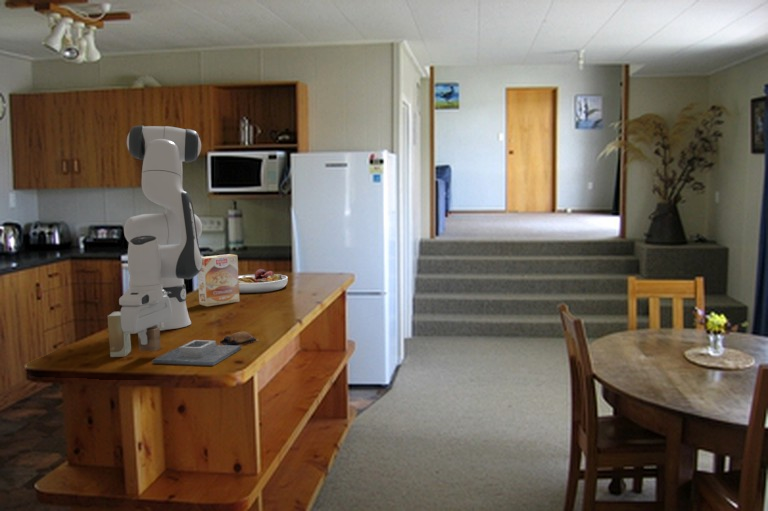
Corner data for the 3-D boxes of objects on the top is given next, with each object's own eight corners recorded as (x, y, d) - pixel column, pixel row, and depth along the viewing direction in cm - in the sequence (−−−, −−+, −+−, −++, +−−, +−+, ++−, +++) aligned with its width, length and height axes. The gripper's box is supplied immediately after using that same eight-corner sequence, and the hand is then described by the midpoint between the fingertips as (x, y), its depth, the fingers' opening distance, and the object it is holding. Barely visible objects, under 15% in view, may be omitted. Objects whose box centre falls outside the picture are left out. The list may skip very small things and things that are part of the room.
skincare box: (116, 352, 198) (113, 311, 196) (131, 351, 198) (128, 310, 197) (109, 357, 191) (106, 315, 190) (125, 357, 192) (122, 314, 190)
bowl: (282, 293, 296) (281, 276, 295) (214, 295, 297) (213, 277, 296) (292, 283, 326) (291, 267, 325) (231, 284, 326) (230, 268, 326)
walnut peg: (139, 350, 190) (137, 329, 189) (145, 347, 193) (143, 327, 192) (155, 351, 189) (153, 330, 188) (160, 348, 191) (159, 327, 191)
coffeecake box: (206, 306, 268) (204, 258, 265) (198, 304, 273) (196, 257, 271) (240, 301, 277) (238, 254, 275) (231, 299, 283) (229, 253, 281)
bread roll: (248, 338, 213) (247, 327, 213) (261, 343, 207) (261, 331, 207) (217, 344, 207) (216, 332, 206) (229, 349, 200) (229, 336, 200)
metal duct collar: (152, 363, 184) (151, 351, 184) (185, 347, 201) (184, 335, 201) (213, 365, 180) (212, 353, 180) (241, 349, 198) (240, 337, 197)
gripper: (156, 287, 199) (159, 333, 201) (114, 300, 180) (118, 350, 181) (175, 288, 198) (178, 333, 200) (136, 300, 178) (139, 351, 180)
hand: (149, 342), depth 190 cm, fingers closed on walnut peg, 3 cm apart
